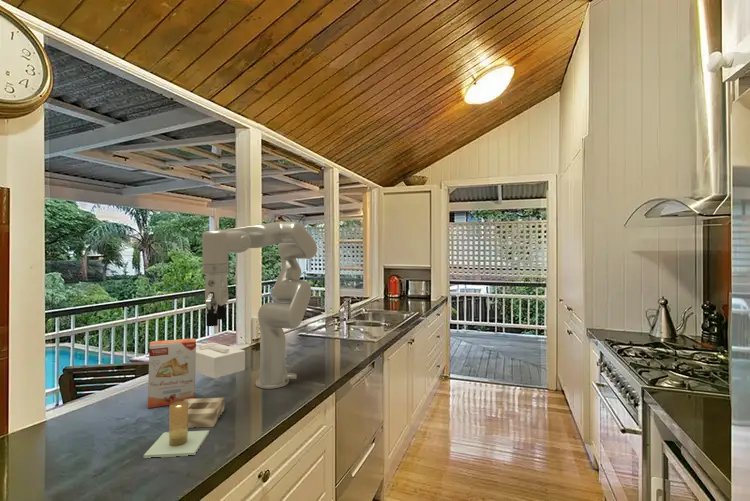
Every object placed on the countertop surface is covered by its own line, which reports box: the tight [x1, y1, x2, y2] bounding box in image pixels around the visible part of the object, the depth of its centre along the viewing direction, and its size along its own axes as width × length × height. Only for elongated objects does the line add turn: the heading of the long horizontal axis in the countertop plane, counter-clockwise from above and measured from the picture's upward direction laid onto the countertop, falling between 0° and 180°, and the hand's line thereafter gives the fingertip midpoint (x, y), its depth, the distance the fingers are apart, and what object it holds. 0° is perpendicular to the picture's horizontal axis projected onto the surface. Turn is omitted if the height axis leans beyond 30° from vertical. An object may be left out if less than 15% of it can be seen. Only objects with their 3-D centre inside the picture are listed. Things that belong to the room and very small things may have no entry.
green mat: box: [143, 429, 210, 459], centre depth 101 cm, size 12×12×1 cm
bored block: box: [184, 397, 225, 429], centre depth 117 cm, size 12×12×4 cm
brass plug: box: [168, 401, 189, 446], centre depth 101 cm, size 4×4×10 cm
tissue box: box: [195, 341, 246, 379], centre depth 167 cm, size 14×25×11 cm, turn 54°
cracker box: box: [147, 337, 197, 409], centre depth 129 cm, size 14×6×21 cm, turn 117°
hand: (216, 322), depth 122 cm, fingers open, 9 cm apart
